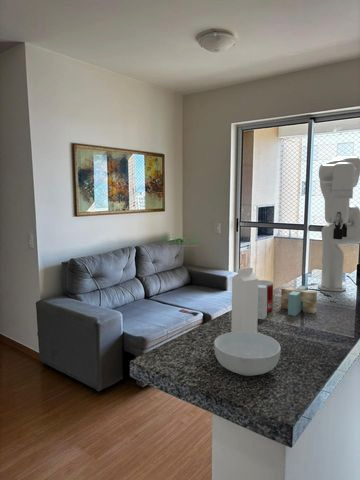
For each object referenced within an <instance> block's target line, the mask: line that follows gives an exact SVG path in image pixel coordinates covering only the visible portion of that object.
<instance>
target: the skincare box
mask: <svg viewBox="0 0 360 480" xmlns="http://www.w3.org/2000/svg"><path fill="white" fill-rule="evenodd" d="M267 316H268V312H267V285H258V320H265V319H266V318H267Z"/></svg>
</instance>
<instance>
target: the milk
mask: <svg viewBox="0 0 360 480" xmlns="http://www.w3.org/2000/svg"><path fill="white" fill-rule="evenodd" d="M253 271H254V270H253V267H248V268H239V269H237V274H235V275H234V276H233V277H231V327H230V328H231V329H230V330H231V331H230V332H235V331H249V332H256V333H258V321H259V319H258V280H259V278H258V276H256V274H255V273H254V272H253Z"/></svg>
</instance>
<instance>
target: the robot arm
mask: <svg viewBox="0 0 360 480" xmlns="http://www.w3.org/2000/svg"><path fill="white" fill-rule="evenodd" d="M318 178H319V187H320V192H321V194H322V197H323V198H324V199H323V200H324V220H325V223H327V225H326V224H325V225H324V226H323V227H322V228H321V241H322V261H321V279H320V281H321V283H318V285H317V288H318V289H320V290H322V291H327V292H344V291H346V288H347V287H346V286H345V285H343V279H344V257H345V254H344V251H343V250H342V248H341V247H340V246H339V245H348V246H349V245H352V246H353V245H358V244H360V208H359V206H357V205H353V204H352V205H351V204H350V199H353V196H354V188H355V187H356V186H357V185H358V182H359V180H360V179H359V178H360V158H359V157H358V156H353V155H351V156H336V157H333V158H331V159H329V160H328V161H327V162H322V163H321V164H320V166H319V168H318Z"/></svg>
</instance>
